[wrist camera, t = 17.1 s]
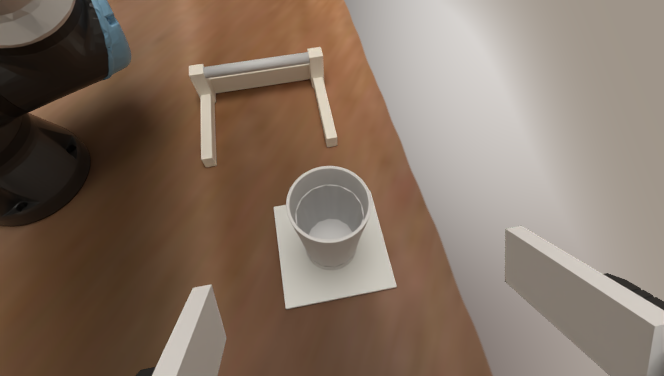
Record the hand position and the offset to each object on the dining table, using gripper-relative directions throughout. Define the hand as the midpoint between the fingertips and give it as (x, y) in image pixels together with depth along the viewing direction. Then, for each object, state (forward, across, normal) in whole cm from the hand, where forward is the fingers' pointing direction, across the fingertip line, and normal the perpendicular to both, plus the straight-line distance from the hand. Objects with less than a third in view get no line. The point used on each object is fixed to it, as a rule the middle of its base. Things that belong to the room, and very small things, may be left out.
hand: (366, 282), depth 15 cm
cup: (+26, 0, -11) cm, 28 cm away
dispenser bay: (+42, -6, +4) cm, 42 cm away
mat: (+26, 0, -11) cm, 28 cm away
